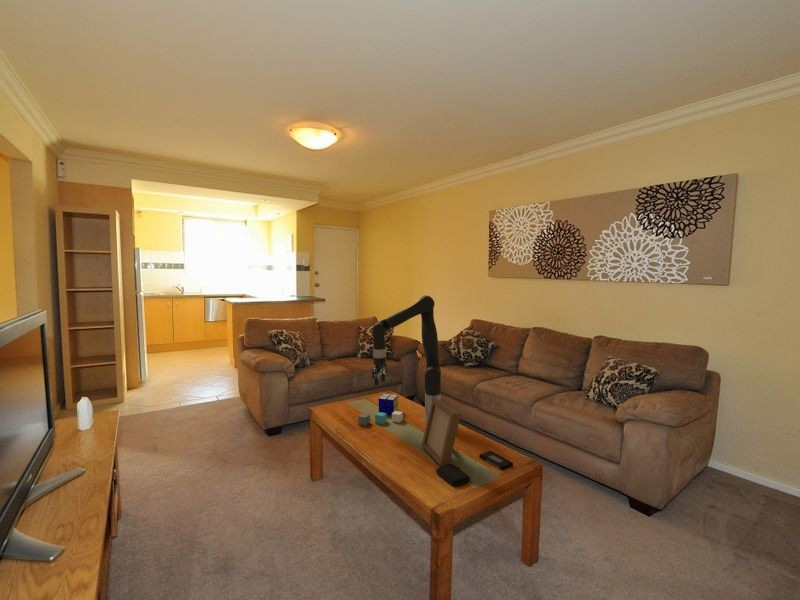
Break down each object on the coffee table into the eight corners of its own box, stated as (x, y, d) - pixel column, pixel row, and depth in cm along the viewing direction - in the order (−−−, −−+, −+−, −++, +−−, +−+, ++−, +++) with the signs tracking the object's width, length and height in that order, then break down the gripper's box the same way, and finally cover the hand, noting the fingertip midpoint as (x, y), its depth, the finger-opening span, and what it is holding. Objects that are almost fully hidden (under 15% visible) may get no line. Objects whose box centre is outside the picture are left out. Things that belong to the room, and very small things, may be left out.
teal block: (386, 421, 236) (386, 413, 236) (382, 424, 232) (382, 416, 231) (379, 420, 238) (379, 412, 238) (375, 423, 234) (375, 414, 233)
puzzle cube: (378, 414, 248) (378, 398, 248) (383, 408, 258) (383, 393, 257) (393, 415, 245) (393, 399, 245) (398, 410, 255) (398, 395, 254)
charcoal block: (369, 422, 234) (369, 414, 234) (365, 425, 229) (365, 417, 229) (362, 421, 236) (362, 413, 236) (358, 424, 231) (358, 416, 231)
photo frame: (440, 467, 181) (441, 414, 179) (421, 447, 201) (422, 399, 199) (469, 462, 186) (470, 410, 184) (447, 443, 206) (448, 396, 204)
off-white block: (402, 419, 239) (402, 411, 238) (399, 422, 234) (399, 414, 234) (395, 418, 241) (395, 410, 240) (391, 421, 236) (391, 413, 236)
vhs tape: (501, 471, 179) (501, 467, 179) (479, 458, 191) (479, 454, 191) (512, 467, 183) (512, 462, 182) (490, 454, 195) (490, 450, 195)
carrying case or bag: (474, 482, 169) (453, 467, 182) (474, 475, 169) (453, 461, 182) (454, 489, 164) (434, 473, 177) (454, 482, 164) (434, 466, 176)
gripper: (379, 359, 226) (380, 387, 227) (390, 354, 239) (390, 380, 240) (368, 358, 229) (368, 385, 230) (379, 353, 242) (379, 379, 243)
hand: (380, 383), depth 235 cm, fingers open, 8 cm apart
